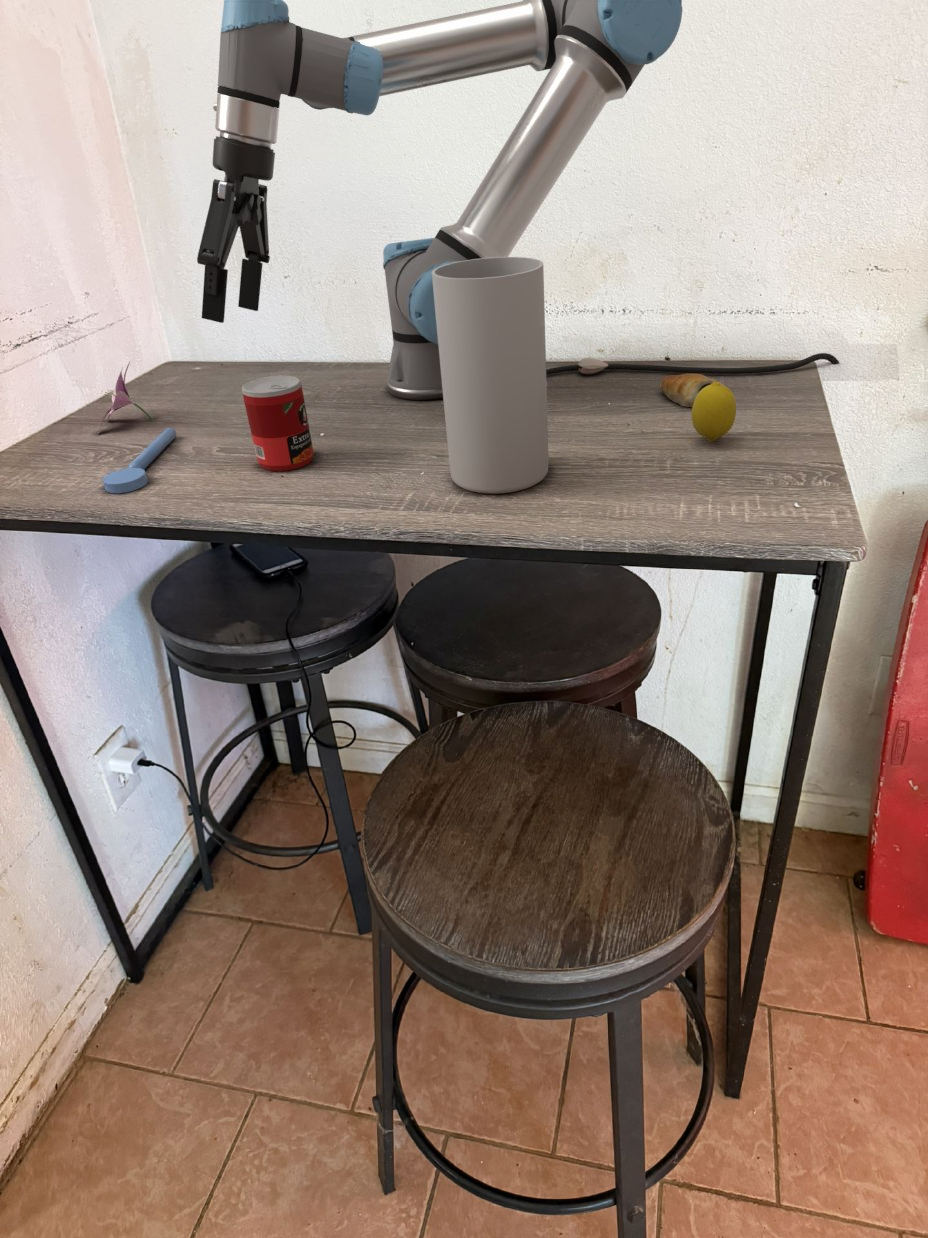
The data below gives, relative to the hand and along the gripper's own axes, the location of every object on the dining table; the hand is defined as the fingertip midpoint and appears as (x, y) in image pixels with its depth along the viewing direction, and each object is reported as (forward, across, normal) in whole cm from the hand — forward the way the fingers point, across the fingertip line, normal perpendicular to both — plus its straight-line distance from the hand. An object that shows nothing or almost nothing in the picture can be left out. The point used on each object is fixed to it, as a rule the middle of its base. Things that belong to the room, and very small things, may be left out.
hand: (231, 314), depth 116 cm
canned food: (+17, +6, +12) cm, 21 cm away
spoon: (+22, +5, -9) cm, 24 cm away
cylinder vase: (+9, +14, +41) cm, 44 cm away
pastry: (-1, -14, +66) cm, 67 cm away
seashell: (+1, -29, +52) cm, 60 cm away
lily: (+24, -13, -21) cm, 34 cm away
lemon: (+1, +4, +67) cm, 68 cm away
